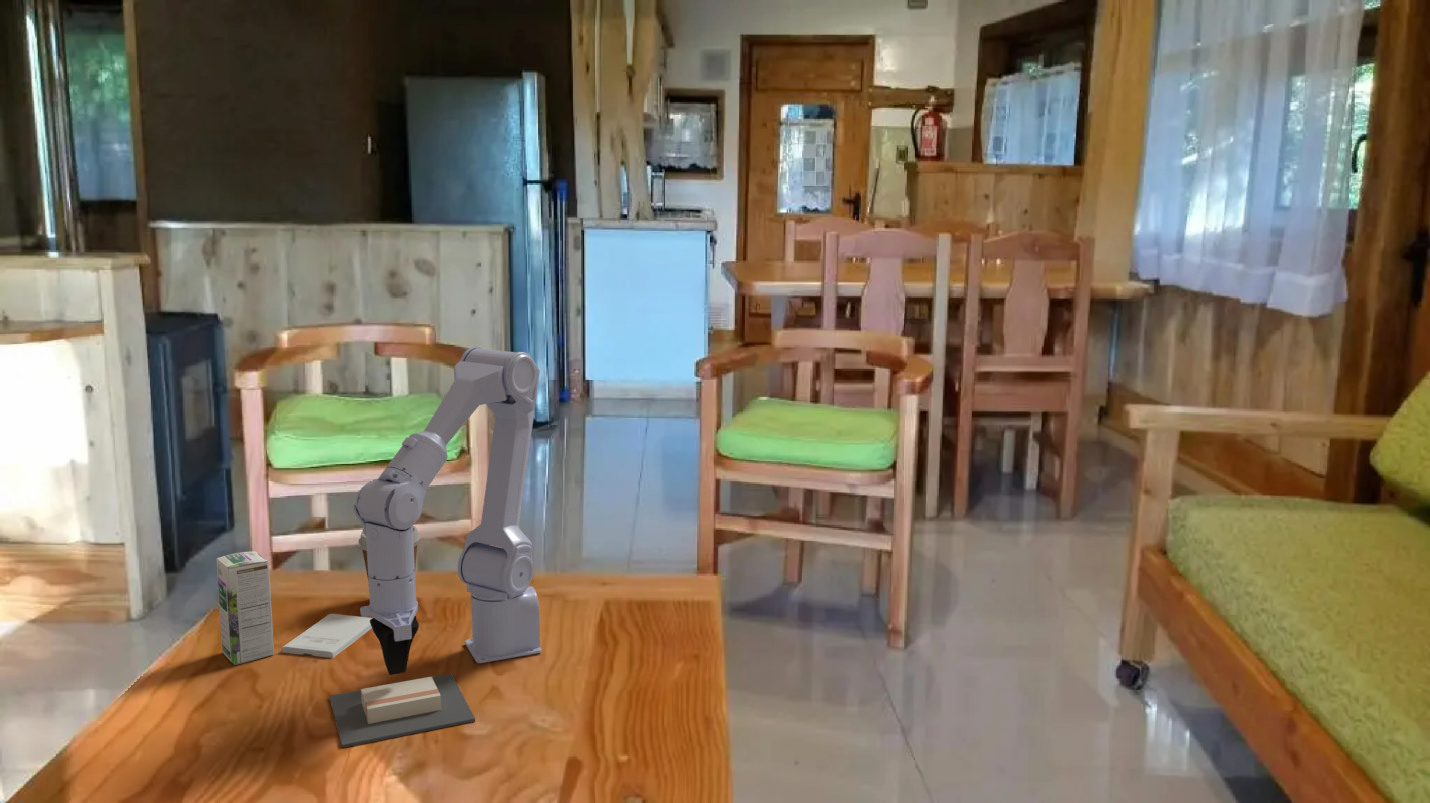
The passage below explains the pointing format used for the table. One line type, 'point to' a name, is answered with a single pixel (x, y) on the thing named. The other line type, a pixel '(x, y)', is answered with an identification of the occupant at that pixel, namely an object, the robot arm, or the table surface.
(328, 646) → the external hard drive
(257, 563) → the syrup box
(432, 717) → the mat
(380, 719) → the card deck
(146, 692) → the table surface
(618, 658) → the table surface
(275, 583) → the table surface
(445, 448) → the robot arm
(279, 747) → the table surface
